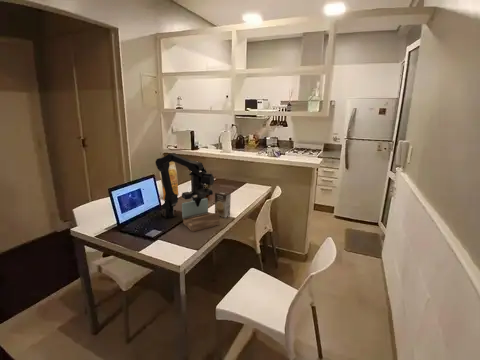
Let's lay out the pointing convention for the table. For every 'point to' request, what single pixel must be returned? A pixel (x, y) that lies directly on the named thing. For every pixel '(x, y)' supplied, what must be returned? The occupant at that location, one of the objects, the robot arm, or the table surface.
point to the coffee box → (222, 203)
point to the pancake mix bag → (171, 178)
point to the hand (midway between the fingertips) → (197, 206)
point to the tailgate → (194, 208)
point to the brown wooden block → (201, 221)
